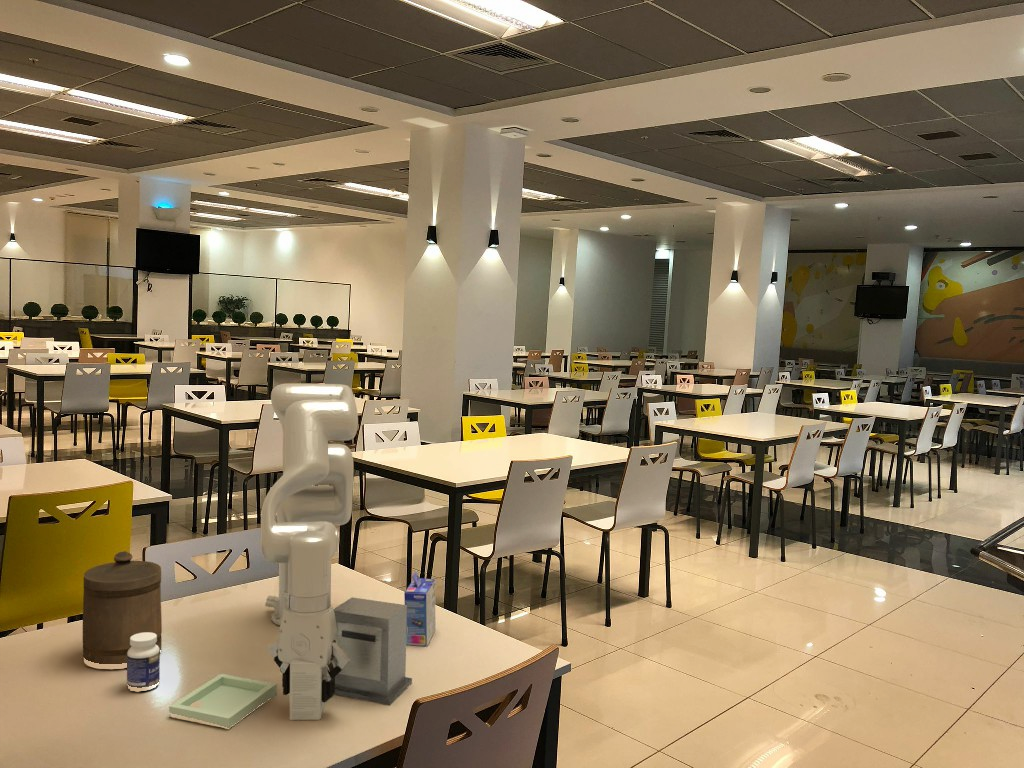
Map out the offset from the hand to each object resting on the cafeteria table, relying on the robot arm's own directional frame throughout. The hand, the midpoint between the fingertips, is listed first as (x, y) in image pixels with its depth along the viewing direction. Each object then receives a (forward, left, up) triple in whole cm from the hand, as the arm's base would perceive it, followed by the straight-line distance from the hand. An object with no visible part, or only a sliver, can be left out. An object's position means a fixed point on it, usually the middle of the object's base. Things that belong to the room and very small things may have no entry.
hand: (308, 694), depth 151 cm
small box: (0, 0, -3) cm, 3 cm away
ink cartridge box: (+5, +39, -3) cm, 39 cm away
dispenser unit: (+6, +12, -3) cm, 14 cm away
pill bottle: (-34, -3, -3) cm, 34 cm away
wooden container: (-48, +7, -3) cm, 49 cm away
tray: (-15, -4, -3) cm, 16 cm away
